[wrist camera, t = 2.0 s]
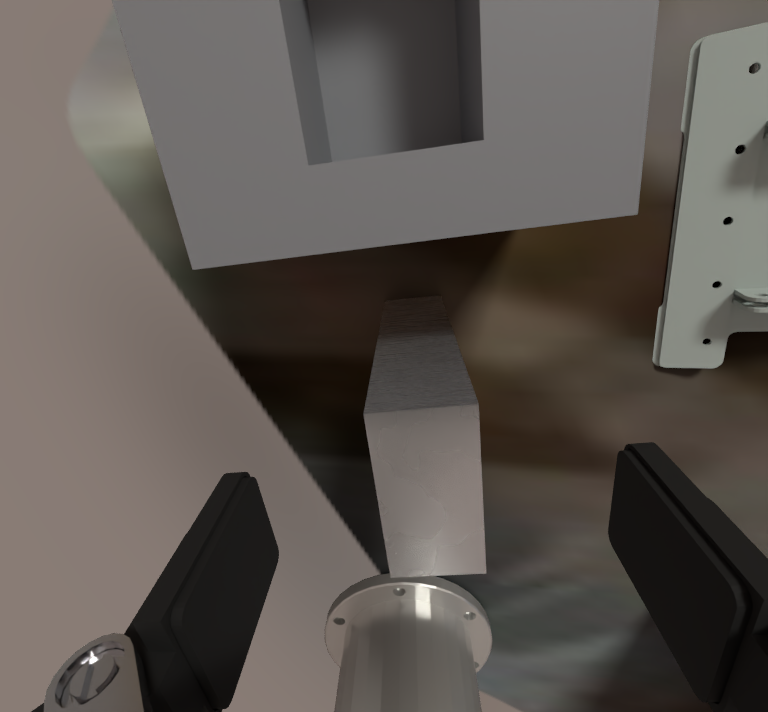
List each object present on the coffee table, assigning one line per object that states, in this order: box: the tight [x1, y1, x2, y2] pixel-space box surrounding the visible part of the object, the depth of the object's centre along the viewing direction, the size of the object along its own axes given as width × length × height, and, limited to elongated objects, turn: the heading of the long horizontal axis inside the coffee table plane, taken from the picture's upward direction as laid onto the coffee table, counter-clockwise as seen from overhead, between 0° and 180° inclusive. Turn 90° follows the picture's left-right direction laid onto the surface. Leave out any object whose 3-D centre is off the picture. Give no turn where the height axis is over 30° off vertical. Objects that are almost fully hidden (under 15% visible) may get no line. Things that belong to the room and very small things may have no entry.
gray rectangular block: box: [363, 295, 486, 578], centre depth 17 cm, size 6×3×12 cm, turn 7°
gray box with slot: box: [112, 0, 659, 270], centre depth 13 cm, size 12×12×10 cm
